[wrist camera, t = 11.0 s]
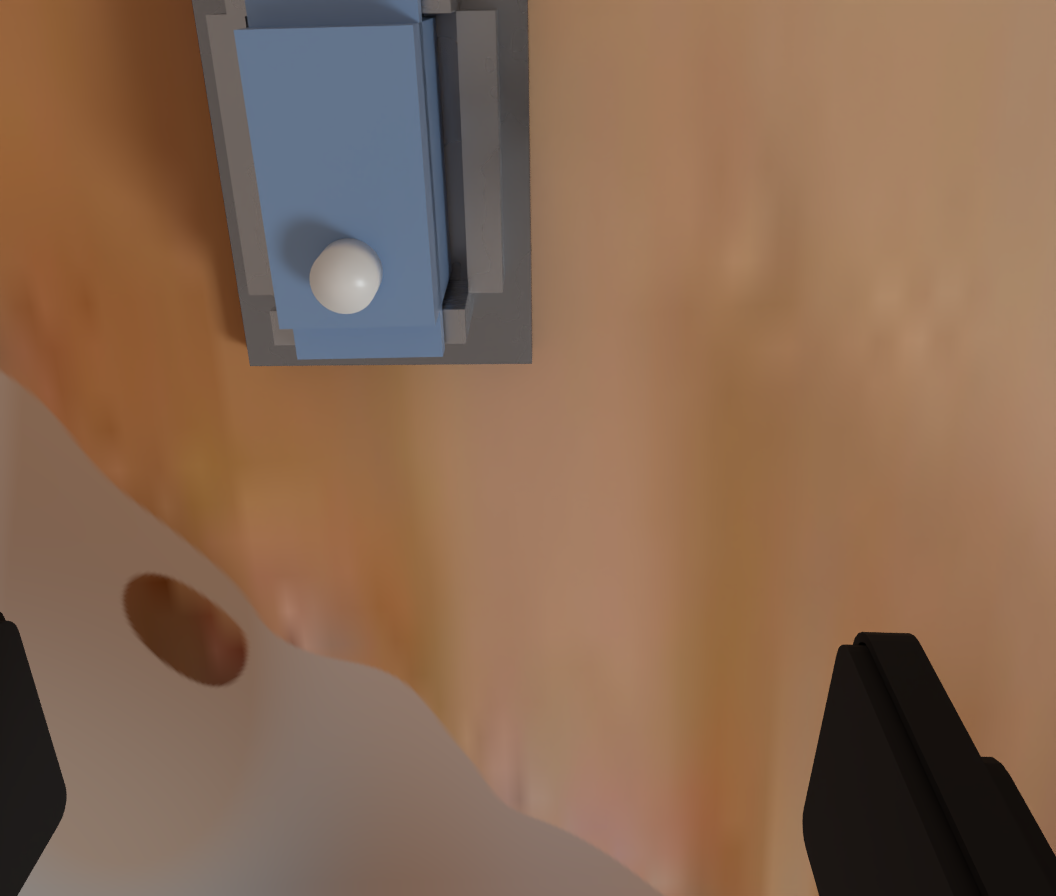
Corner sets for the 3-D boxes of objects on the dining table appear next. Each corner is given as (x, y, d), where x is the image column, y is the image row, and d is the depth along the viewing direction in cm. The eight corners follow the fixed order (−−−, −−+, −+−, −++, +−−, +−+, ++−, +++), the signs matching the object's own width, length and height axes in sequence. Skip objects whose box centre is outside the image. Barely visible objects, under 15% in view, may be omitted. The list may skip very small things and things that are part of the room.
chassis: (176, -194, 24) (109, -226, 20) (525, -201, 24) (522, -234, 20) (260, 352, 31) (221, 404, 27) (532, 350, 31) (531, 401, 27)
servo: (281, -34, 24) (208, -37, 19) (432, -38, 24) (401, -43, 19) (325, 314, 29) (277, 391, 23) (454, 312, 29) (434, 388, 23)
